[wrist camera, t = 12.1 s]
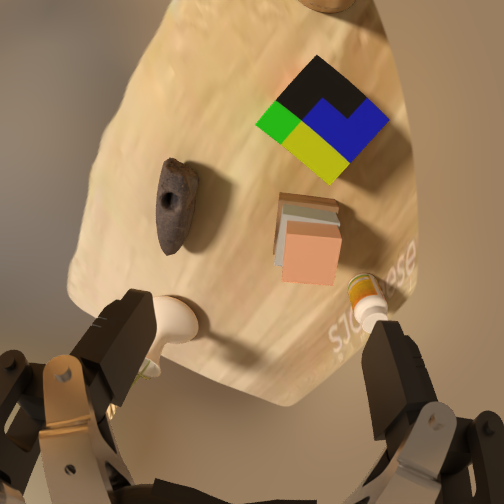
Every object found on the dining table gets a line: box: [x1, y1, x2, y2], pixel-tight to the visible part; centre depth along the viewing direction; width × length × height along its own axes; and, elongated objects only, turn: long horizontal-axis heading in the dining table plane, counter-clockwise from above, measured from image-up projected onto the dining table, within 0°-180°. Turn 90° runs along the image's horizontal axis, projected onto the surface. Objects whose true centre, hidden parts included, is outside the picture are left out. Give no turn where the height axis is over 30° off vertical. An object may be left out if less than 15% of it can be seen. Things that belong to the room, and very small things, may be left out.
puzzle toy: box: [255, 55, 389, 186], centre depth 30 cm, size 10×10×10 cm
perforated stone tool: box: [156, 158, 199, 256], centre depth 39 cm, size 15×5×7 cm, turn 165°
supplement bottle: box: [348, 273, 388, 333], centre depth 41 cm, size 5×5×10 cm
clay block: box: [282, 220, 342, 286], centre depth 33 cm, size 6×6×4 cm
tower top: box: [274, 204, 340, 267], centre depth 36 cm, size 7×7×4 cm
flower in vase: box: [107, 296, 199, 419], centre depth 42 cm, size 13×11×25 cm
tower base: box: [273, 192, 339, 255], centre depth 40 cm, size 8×8×4 cm
